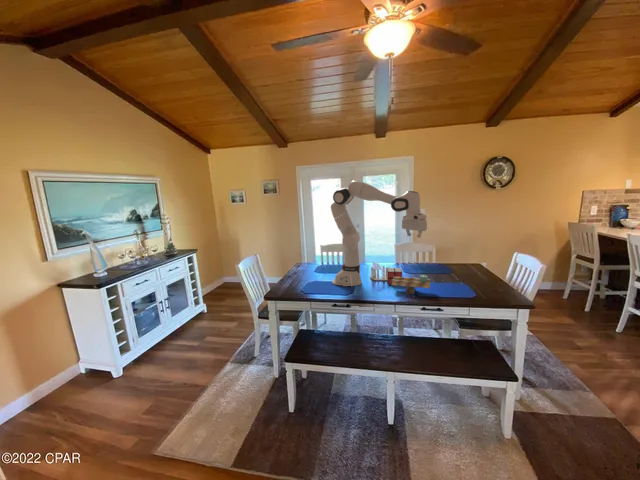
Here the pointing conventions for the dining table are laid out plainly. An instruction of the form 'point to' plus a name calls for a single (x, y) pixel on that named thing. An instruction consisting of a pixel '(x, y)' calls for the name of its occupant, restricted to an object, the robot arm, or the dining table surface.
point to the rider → (423, 278)
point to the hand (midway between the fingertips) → (414, 236)
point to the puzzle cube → (393, 274)
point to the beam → (410, 283)
